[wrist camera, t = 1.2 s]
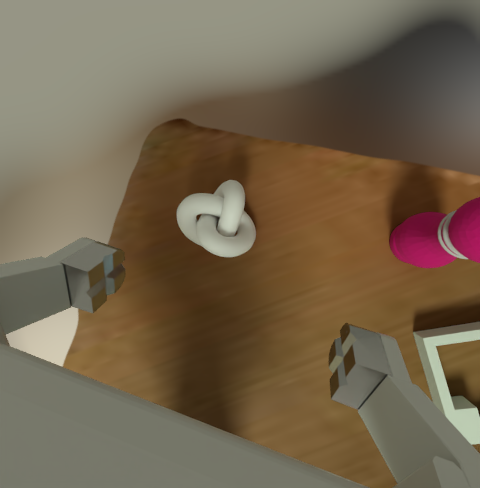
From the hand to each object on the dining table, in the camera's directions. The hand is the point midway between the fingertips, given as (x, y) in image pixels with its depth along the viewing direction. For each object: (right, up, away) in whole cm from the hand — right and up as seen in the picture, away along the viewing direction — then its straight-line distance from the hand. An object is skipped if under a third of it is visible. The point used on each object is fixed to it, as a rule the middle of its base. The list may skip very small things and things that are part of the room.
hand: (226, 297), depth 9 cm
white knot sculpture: (-1, +6, +35) cm, 36 cm away
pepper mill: (+26, +2, +29) cm, 39 cm away
